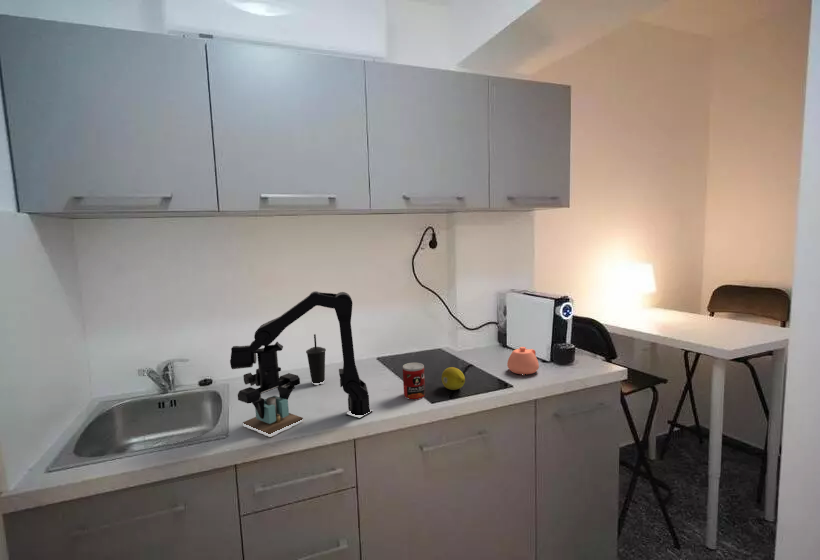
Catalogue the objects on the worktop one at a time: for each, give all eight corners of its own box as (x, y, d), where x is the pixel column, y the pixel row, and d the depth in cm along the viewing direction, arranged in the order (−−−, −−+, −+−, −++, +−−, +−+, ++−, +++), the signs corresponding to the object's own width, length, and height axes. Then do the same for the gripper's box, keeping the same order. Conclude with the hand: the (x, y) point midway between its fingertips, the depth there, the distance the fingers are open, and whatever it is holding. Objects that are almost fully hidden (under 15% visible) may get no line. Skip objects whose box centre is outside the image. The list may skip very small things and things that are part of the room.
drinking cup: (304, 384, 162) (301, 335, 160) (321, 378, 167) (317, 331, 165) (315, 388, 157) (311, 337, 155) (331, 382, 162) (328, 333, 160)
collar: (289, 415, 128) (287, 399, 127) (269, 423, 122) (268, 407, 121) (275, 410, 132) (274, 395, 131) (256, 418, 126) (254, 403, 126)
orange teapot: (501, 371, 166) (500, 347, 165) (524, 364, 174) (523, 340, 173) (524, 379, 156) (524, 353, 155) (548, 371, 163) (547, 346, 162)
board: (303, 422, 128) (301, 396, 127) (270, 438, 118) (267, 410, 117) (276, 412, 136) (274, 388, 135) (243, 426, 126) (240, 400, 126)
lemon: (437, 386, 153) (436, 365, 152) (456, 382, 155) (455, 362, 155) (450, 396, 143) (449, 374, 142) (470, 392, 145) (469, 370, 144)
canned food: (407, 401, 140) (405, 370, 139) (401, 393, 148) (400, 363, 147) (428, 398, 142) (426, 367, 141) (421, 390, 150) (420, 361, 149)
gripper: (278, 354, 137) (281, 398, 139) (225, 370, 122) (230, 419, 124) (299, 358, 131) (303, 405, 132) (246, 376, 116) (251, 428, 117)
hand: (272, 413), depth 127 cm, fingers closed on collar, 7 cm apart
